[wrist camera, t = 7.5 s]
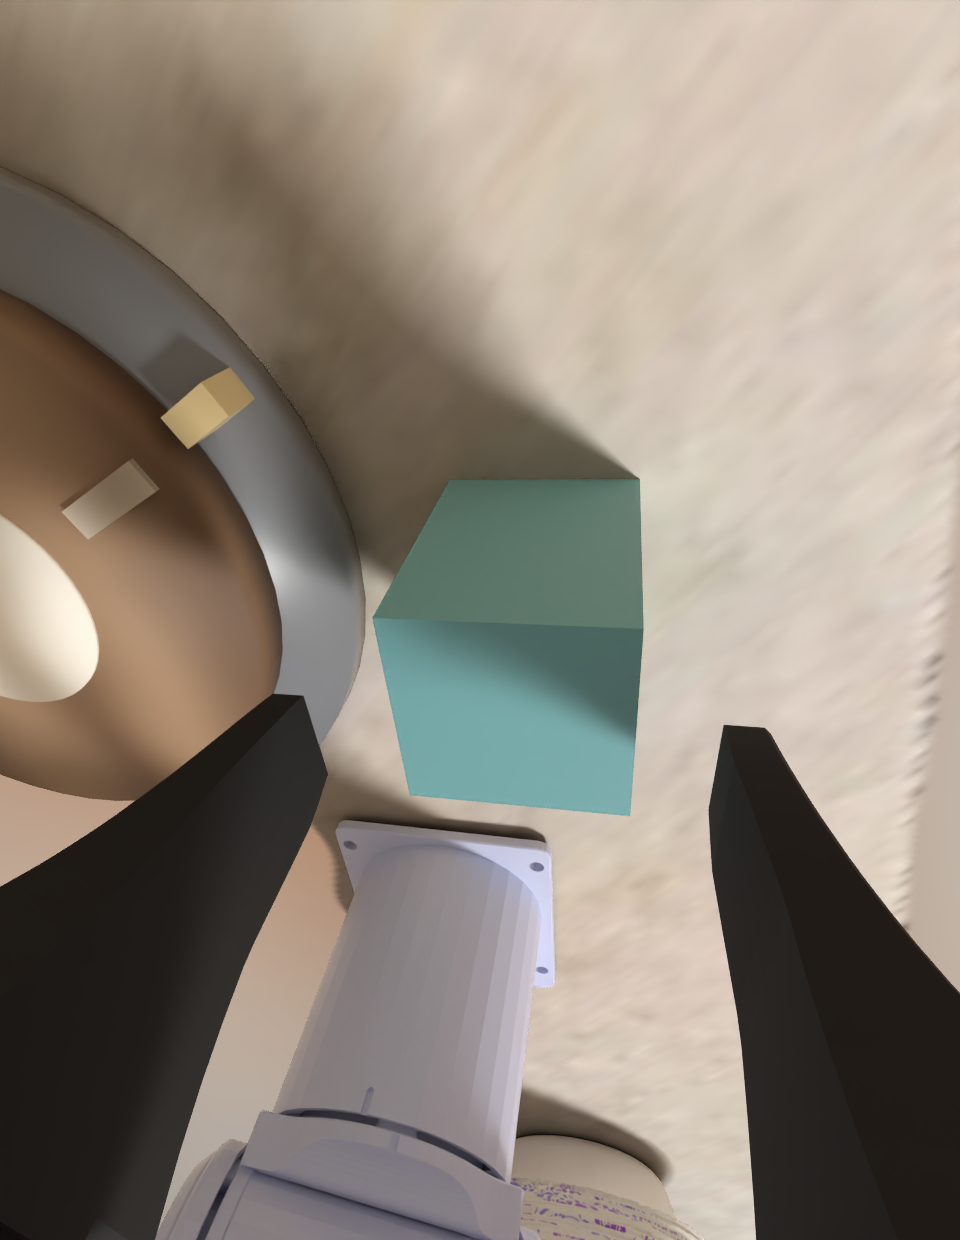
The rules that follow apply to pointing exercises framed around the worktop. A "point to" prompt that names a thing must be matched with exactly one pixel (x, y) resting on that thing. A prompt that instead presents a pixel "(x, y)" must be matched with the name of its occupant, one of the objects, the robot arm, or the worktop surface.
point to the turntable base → (205, 419)
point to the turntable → (115, 576)
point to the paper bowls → (591, 1193)
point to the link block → (520, 644)
